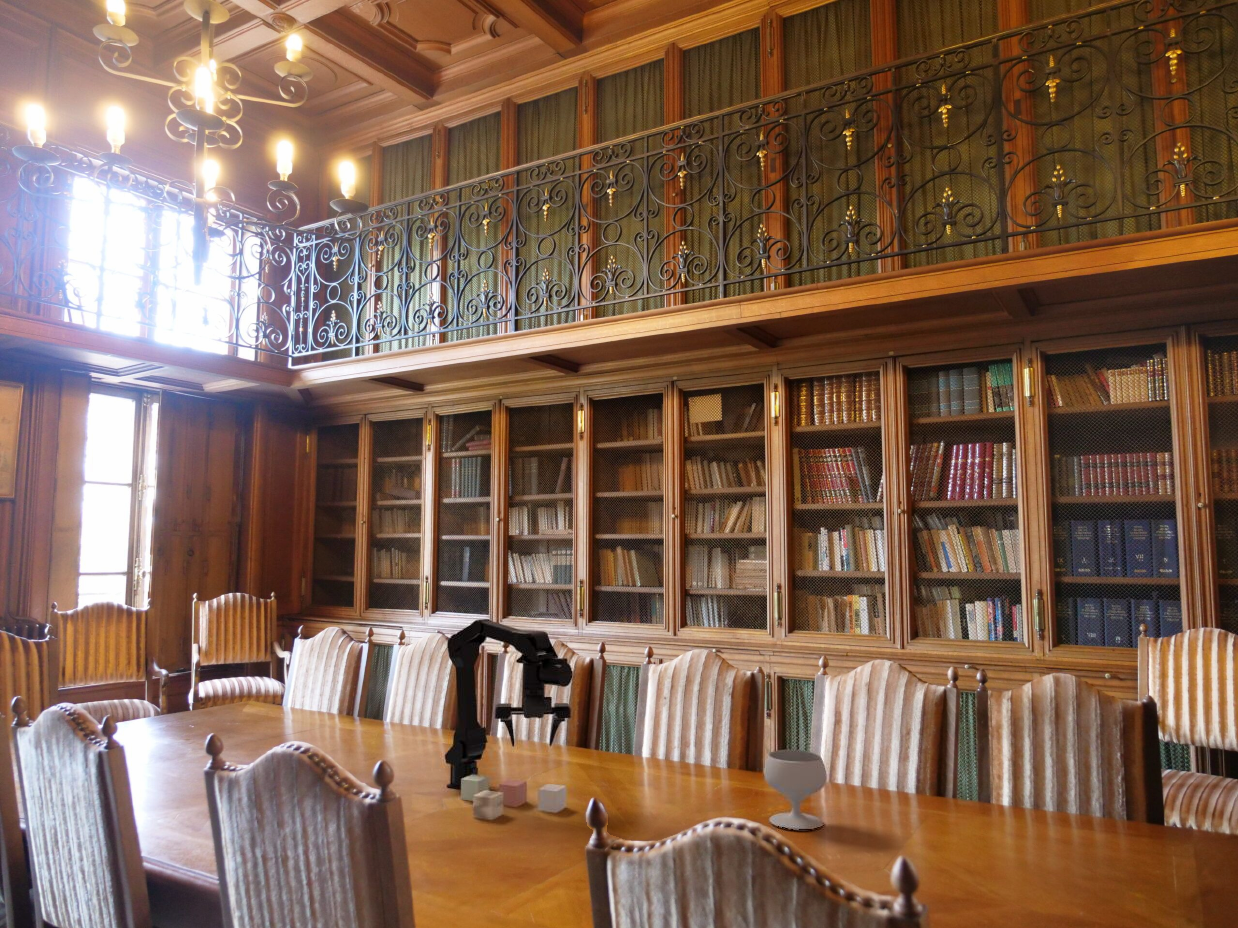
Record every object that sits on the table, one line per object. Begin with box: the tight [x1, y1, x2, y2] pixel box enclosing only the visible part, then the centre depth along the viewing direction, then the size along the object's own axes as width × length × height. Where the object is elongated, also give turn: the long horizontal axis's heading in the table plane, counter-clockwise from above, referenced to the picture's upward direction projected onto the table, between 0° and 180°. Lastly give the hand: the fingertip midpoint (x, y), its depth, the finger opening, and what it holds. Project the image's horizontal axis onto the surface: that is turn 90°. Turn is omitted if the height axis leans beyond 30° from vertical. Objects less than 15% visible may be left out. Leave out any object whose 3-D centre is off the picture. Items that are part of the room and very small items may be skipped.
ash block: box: [472, 790, 504, 821], centre depth 196 cm, size 5×5×5 cm
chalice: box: [763, 749, 828, 831], centre depth 191 cm, size 14×14×15 cm
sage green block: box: [460, 774, 490, 802], centre depth 210 cm, size 5×5×5 cm
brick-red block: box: [498, 778, 528, 808], centre depth 206 cm, size 5×5×5 cm
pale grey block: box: [537, 783, 567, 814], centre depth 201 cm, size 5×5×5 cm
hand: (531, 745), depth 209 cm, fingers open, 9 cm apart
